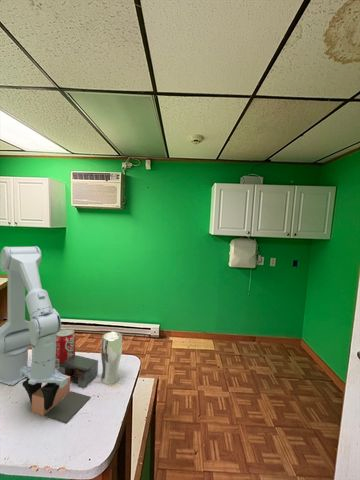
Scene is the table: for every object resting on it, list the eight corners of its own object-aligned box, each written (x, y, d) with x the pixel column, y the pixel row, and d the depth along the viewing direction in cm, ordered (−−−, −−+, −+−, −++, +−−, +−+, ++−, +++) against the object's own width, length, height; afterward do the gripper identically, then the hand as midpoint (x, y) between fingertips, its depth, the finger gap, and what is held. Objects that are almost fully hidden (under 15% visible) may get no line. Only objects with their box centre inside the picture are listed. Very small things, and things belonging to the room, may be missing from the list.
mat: (44, 416, 64) (44, 415, 64) (71, 392, 73) (71, 391, 73) (66, 423, 62) (66, 422, 62) (90, 397, 71) (90, 396, 71)
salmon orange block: (31, 412, 65) (32, 394, 65) (59, 389, 74) (59, 373, 74) (43, 416, 64) (43, 398, 64) (69, 392, 73) (70, 376, 73)
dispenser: (58, 381, 78) (59, 363, 78) (73, 369, 85) (73, 353, 85) (84, 388, 76) (85, 370, 75) (97, 375, 82) (98, 358, 82)
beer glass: (96, 384, 78) (98, 339, 77) (103, 371, 85) (105, 330, 84) (116, 386, 77) (119, 341, 77) (123, 373, 84) (125, 332, 84)
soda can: (66, 374, 82) (67, 337, 81) (48, 370, 83) (49, 334, 83) (78, 363, 89) (80, 329, 88) (61, 360, 90) (63, 326, 90)
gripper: (9, 359, 63) (8, 408, 64) (54, 371, 59) (52, 423, 60) (32, 347, 70) (30, 391, 70) (73, 357, 66) (71, 404, 67)
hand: (42, 405), depth 66 cm, fingers closed on salmon orange block, 4 cm apart
